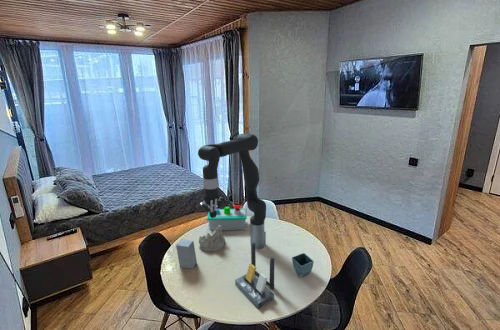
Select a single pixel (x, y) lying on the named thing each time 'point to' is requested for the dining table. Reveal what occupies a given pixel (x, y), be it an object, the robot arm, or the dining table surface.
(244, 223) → the control panel
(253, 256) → the cable posts
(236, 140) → the robot arm
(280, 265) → the dining table surface
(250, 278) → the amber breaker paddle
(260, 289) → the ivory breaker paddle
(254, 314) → the dining table surface
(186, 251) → the skincare box
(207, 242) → the jagged rock sculpture
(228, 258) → the dining table surface
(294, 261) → the flower pot
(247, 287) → the strip
